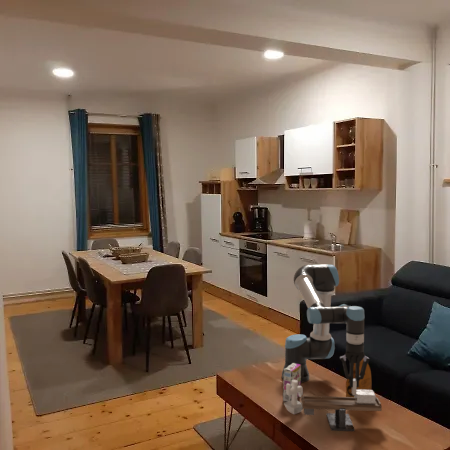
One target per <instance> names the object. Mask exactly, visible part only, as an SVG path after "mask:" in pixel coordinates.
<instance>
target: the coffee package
mask: <svg viewBox="0 0 450 450" xmlns="http://www.w3.org/2000/svg"><path fill="white" fill-rule="evenodd" d="M363 359H364V358H363ZM363 359H362V361H361V362H360V366H359V375H360V372H361V368H362V364H363V361H364V360H363ZM355 365H356V364H355V363H354V368H353V379H356V378H355ZM372 384H373V383H372V371H371V367H370V365H369V363H368V364H367V367H366V370H365V374H364V378H363V379H360V381H359V387H356V389H358V390H372ZM345 397H354V395H353V394H352V387H350V380H349V379H347V378H346V380H345Z"/></svg>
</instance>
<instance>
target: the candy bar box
mask: <svg viewBox="0 0 450 450" xmlns="http://www.w3.org/2000/svg"><path fill="white" fill-rule="evenodd" d="M282 380H283V382H282V383H283V384H282V387H283V388H282V402H283V403H285V402H288V401H291V398H292V395H287V394H286V384H287V383H289V384H290V388H291V387H292V386H291V381H292V380H297V381H298V386H302V384H301V383H302V382H301V365H300V364H296V363H292V364H291V365H289V366H288V367H286V368H285V369H284V374H283V378H282ZM298 398H300V397H299V395H298V394H297V399H298Z"/></svg>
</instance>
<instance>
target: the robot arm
mask: <svg viewBox="0 0 450 450" xmlns="http://www.w3.org/2000/svg"><path fill="white" fill-rule="evenodd" d="M339 276H340V275H339V272H338V269H337V267H336V266H335V265H334V264H327V263H326V264H305V265H302V266H301V267H299V268H298V269H297V270H296V271H295V273H294V275H293V283H294V286H295V288H296V289H297V290H298V291H299V293H300V294H301V297H302V298H303V300H304V302H305V304H306V307H307V310H306V317H307V322H308V323H309V324H312V325H313V326H312V327H313V330H312V331H311V332H310V334H309V337H307V335H305V334H302V333H301V334H300V333H299V334H292V335H289V336H287V337H285V342H284V349H285V350H284V357H285V358H284V366H283V368H282V371H281V378H282V379H283V374H284V369H285V368H286V367H288V366H289V365H291V364H292V363H296V364H300V365H301V383H305V382H308V381H309V380H310V373H309V369H308V366H307V360H326V359H330V358H331V357H333V355H334V353H335V349H336V347H335V340H334V338H333V337H332V334H331V333H330V324H345V325H346V327H345V328H346V329H345V331H346V334H345V336H346V337H345V338H346V343H345V353H344V355H340V356H339V360H340V361H341V363H342V367H343V372H344V375H345V378H346V380H347V379H349V380H350V387H352V394H353V395H356V387H359V381H360V379H363V378H364V374H365V370H366V367H367V364H368V365H369V362H370V361H371V360H370V358H369V357H368V356H366V355H365V353H364V348H365V344H364V342H365V309H364V308H363V307H362V306H357V305H352V306H351V305H348V304H345V303H343V304H340V305H338V306H331V303H332V293H333V292H334V291H335V288H336V287H338V286H339V284H340V277H339ZM363 358H364V359H363ZM362 359H363V360H364V361H363V364H362V368H361V372H360V375H359V366H360V362H361V361H362ZM347 360H348V361H349V362H348V363H349V371H348V367H347V363H346V361H347ZM354 363H355V364H356V365H355V378H356V379H353V368H354Z"/></svg>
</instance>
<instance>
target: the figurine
mask: <svg viewBox="0 0 450 450" xmlns="http://www.w3.org/2000/svg"><path fill="white" fill-rule="evenodd" d="M291 386H292V387H291V388H290V384H289V383H287V384H286V394H287V395H292V398H291V401H288V402H283V406H285V409H286V410H287V412H289V413H291V414H293V415H297V414H300V413H302V411H304V409H303V407H302V403H301V401H299V400H298V398H301V395H303V396H304V394H303V393H304V389H303V386H302V385H301V386H298V381H297V380H292V381H291ZM297 394H298V395H299V397H298V398H297Z"/></svg>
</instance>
